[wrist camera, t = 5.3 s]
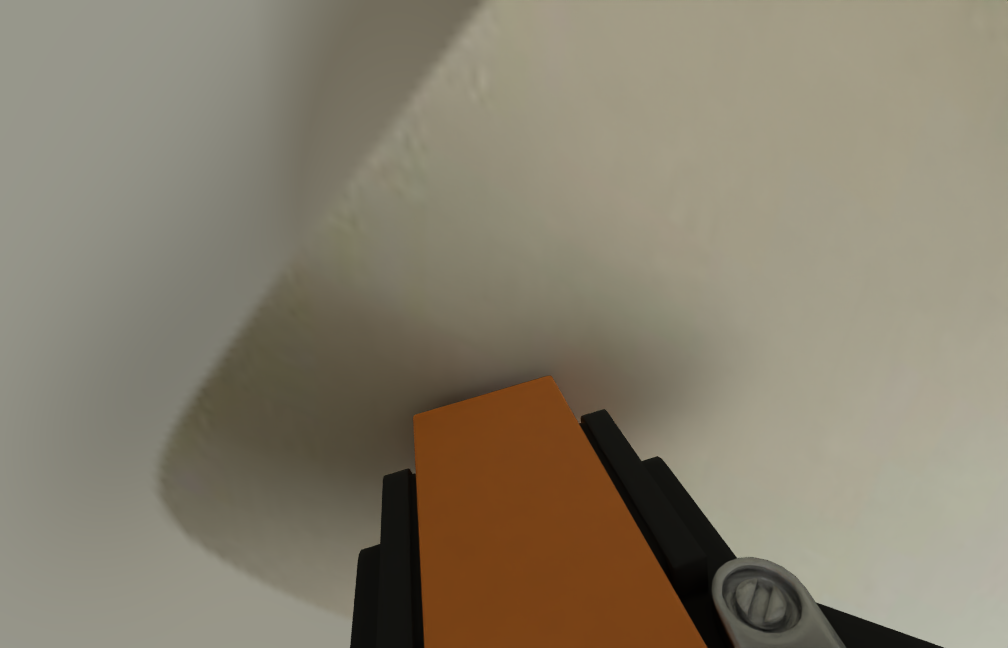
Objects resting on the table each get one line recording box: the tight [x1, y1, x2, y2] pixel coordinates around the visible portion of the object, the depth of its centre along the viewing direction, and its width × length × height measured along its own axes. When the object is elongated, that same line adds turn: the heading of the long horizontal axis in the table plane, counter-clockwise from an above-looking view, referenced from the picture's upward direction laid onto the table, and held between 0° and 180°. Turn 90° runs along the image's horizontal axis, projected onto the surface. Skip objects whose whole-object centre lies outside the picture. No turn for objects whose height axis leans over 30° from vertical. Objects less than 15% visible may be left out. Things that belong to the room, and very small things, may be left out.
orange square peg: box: [413, 376, 707, 648], centre depth 9 cm, size 3×3×7 cm
